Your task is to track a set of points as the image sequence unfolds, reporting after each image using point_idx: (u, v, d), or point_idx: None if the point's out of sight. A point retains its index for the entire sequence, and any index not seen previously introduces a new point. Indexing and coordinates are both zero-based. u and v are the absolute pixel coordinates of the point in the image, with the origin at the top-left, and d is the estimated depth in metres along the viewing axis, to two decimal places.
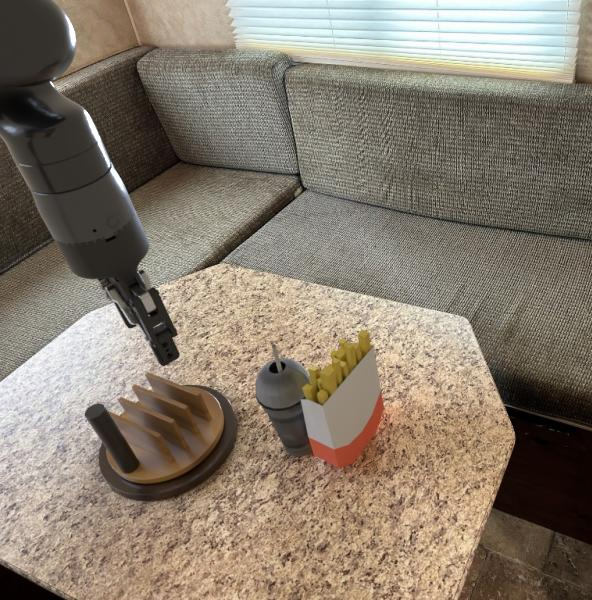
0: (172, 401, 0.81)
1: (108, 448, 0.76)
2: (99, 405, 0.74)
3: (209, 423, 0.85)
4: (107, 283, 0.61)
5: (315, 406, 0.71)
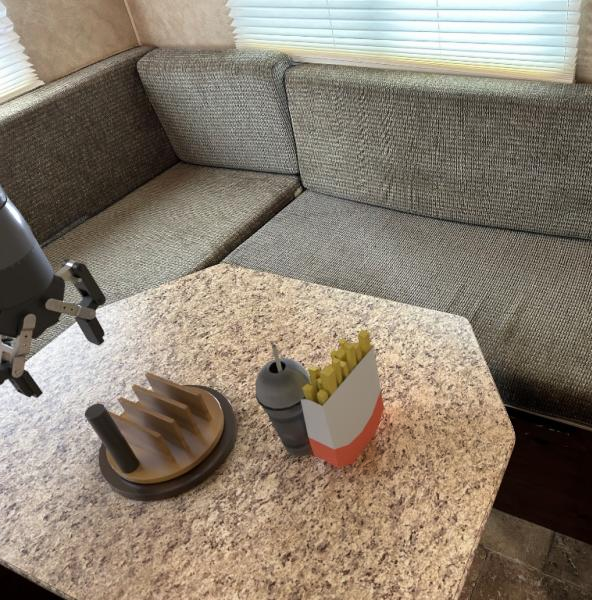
0: (172, 401, 0.81)
1: (108, 448, 0.76)
2: (99, 405, 0.74)
3: (209, 423, 0.85)
4: None
5: (315, 406, 0.71)
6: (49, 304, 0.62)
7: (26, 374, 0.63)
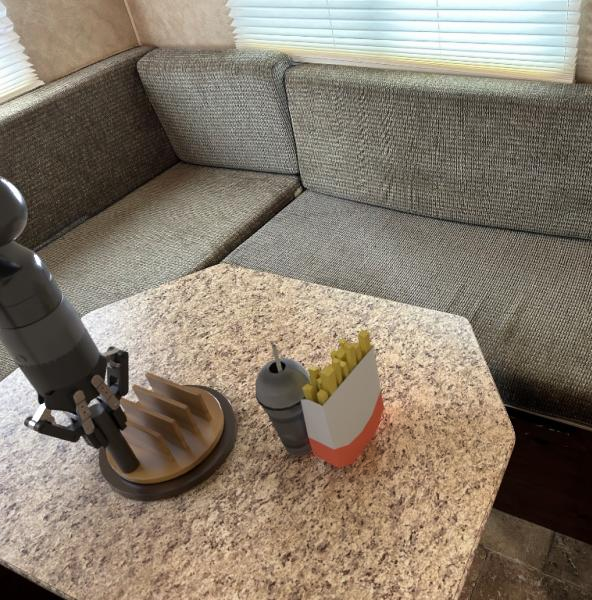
0: (172, 401, 0.81)
1: (108, 448, 0.76)
2: (99, 405, 0.74)
3: (209, 423, 0.85)
4: None
5: (315, 406, 0.71)
6: (94, 380, 0.70)
7: (96, 430, 0.73)
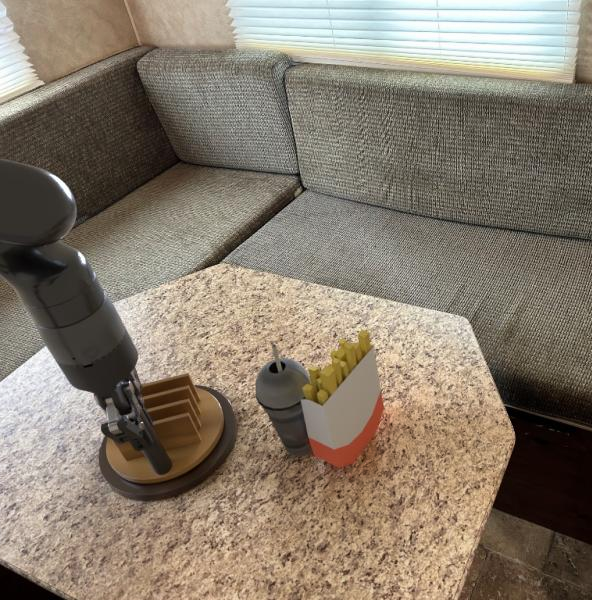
0: (169, 391, 0.83)
1: (150, 448, 0.76)
2: None
3: (202, 401, 0.88)
4: None
5: (315, 406, 0.71)
6: None
7: (144, 426, 0.73)
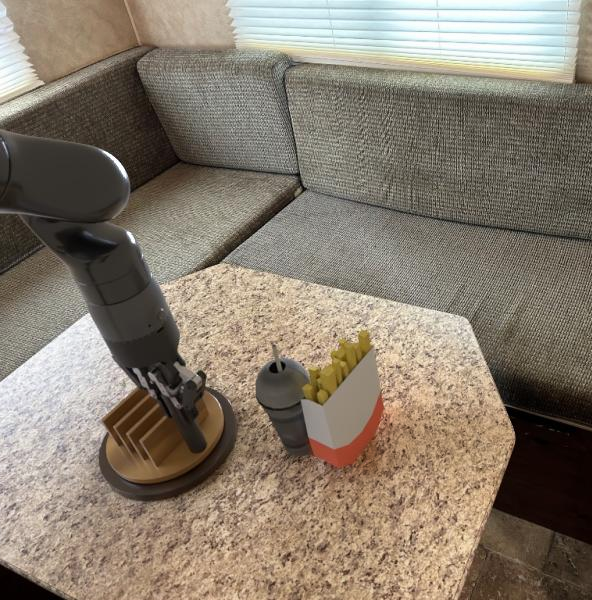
0: None
1: (193, 422, 0.78)
2: None
3: None
4: (144, 369, 0.71)
5: (315, 406, 0.71)
6: None
7: None
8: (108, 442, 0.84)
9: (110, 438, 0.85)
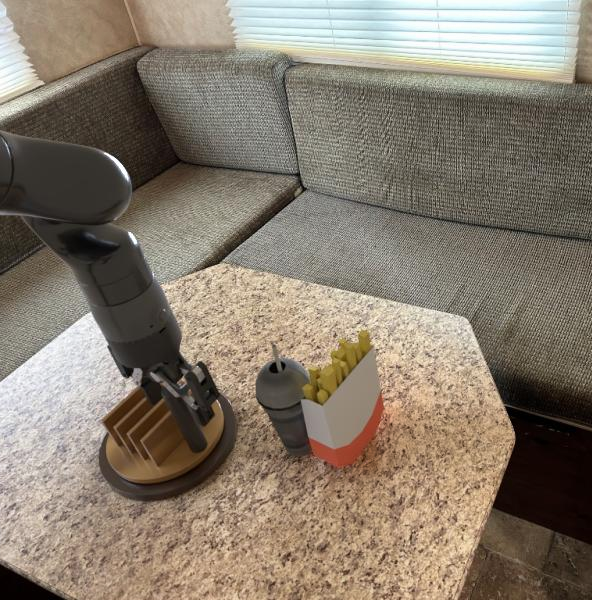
0: None
1: (194, 421, 0.78)
2: (165, 388, 0.75)
3: None
4: (146, 369, 0.71)
5: (315, 406, 0.71)
6: None
7: None
8: (108, 443, 0.84)
9: (110, 439, 0.84)
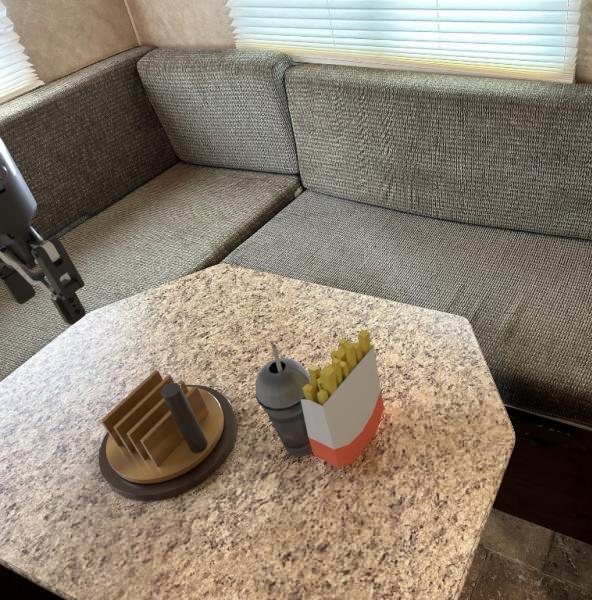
0: (156, 388, 0.84)
1: (194, 421, 0.78)
2: (165, 388, 0.75)
3: None
4: None
5: (315, 406, 0.71)
6: None
7: None
8: (108, 443, 0.84)
9: (110, 439, 0.84)
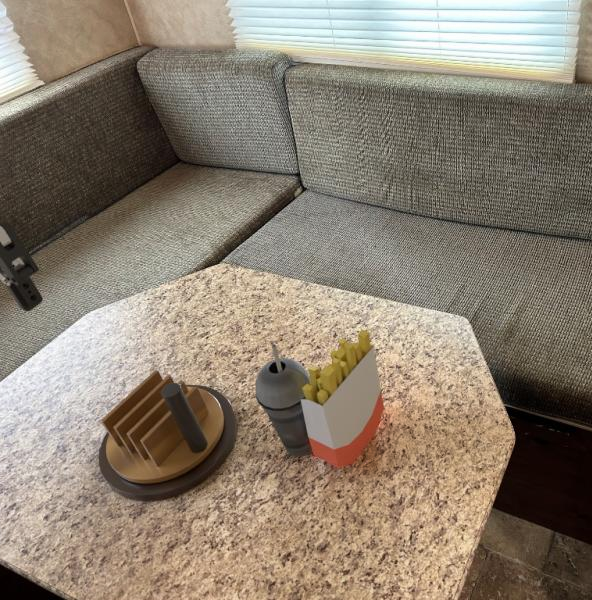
0: (156, 388, 0.84)
1: (194, 421, 0.78)
2: (165, 388, 0.75)
3: None
4: None
5: (315, 406, 0.71)
6: None
7: None
8: (108, 443, 0.84)
9: (110, 439, 0.84)
